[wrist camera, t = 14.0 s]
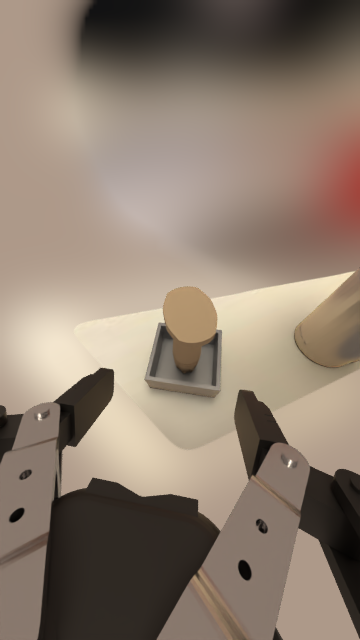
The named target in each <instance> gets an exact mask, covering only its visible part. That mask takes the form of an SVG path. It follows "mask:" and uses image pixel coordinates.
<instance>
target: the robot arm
mask: <svg viewBox="0 0 360 640" xmlns="http://www.w3.org/2000/svg"><path fill="white" fill-rule="evenodd" d="M295 340H296V343H297V345H298V347H299V349H300V350H301V351H302V352H303V354H305V355H306V356H307V357H308V358H309V359H311V360H312V361H314V362H316V363H318V364H320V365H323V366H326V367H340V366H343V365H346V364H348V363H350V362H356V361H359V360H360V268H359V269H358V270H357V271H356V272H355V273H353V274H352V275H351V276H350V277H349V278H348V279H347V280H346V281H345V282H344V283H343V284H342V285H341V286H340V287H338V288H337V289H336V290H335V291H334V292H333V293H332V294H331V295H330V296H329V297H328V298H327V299H326V300H325V301H324V302H322V303H321V304H320V305H319V306H318V307H317V308H316V309H315V310H314V311H313V312H312V313H311V314H310V315H309V316H307V317H306V318H305V319H304V320H303V321H302V322H301V323H300V324H299V325H298V326H297V328H296V330H295ZM113 390H114V371H113V370H112V369H106V368H100V369H99V370H98V371H96V373H94V374H90V375H88V376H86V377H84V378H82V379H81V380H80V381H78V382H77V384H75V385H74V386H72V388H70V389H69V390H68V391H66V392H65V393H64V394H63V395H61V396H60V397H59V398H58V399H56V400H55V401H54V402H50V403H49V402H48V403H42V404H39V405H37V406H34V407H32V408H31V409H29V410H28V411H26V412H25V414H17V415H7V414H6V408H5V407H4V406H1V405H0V640H283V639H282V638H281V636H280V634H279V632H278V630H277V629H276V622H277V618H278V613H279V609H280V605H281V600H282V596H283V592H284V587H285V583H286V579H287V574H288V570H289V566H290V561H291V557H292V552H293V547H294V544H295V539H296V535H297V531H298V528H299V529H301V530H303V531H305V532H306V533H308V534H310V535H312V536H313V537H315V538H317V539H318V540H319V542H320V544H321V547H322V549H323V552H324V554H325V556H326V559H327V561H328V564H329V566H330V568H331V571H332V573H333V576H334V578H335V580H336V583H337V585H338V588H339V590H340V592H341V595H342V597H343V599H344V602H345V605H346V607H347V609H348V612H349V614H350V617H351V619H352V621H353V624H354V626H355V629H356V631H357V633H358V636H359V638H360V475H358V474H356V473H354V472H352V471H349V470H346V469H339V470H337V471H336V472H335V475H334V477H333V476H331V475H328V474H326V473H324V472H322V471H319V470H317V469H315V468H313V467H311V466H309V463H308V462H307V460H306V459H305V458H304V456H303V455H302V454H301V453H300V452H299V451H298V450H296V449H295V448H293V447H291V446H289V444H288V442H287V441H286V439H285V437H284V435H283V433H282V431H281V429H280V428H279V426H278V424H277V423H276V420H275V418H274V417H273V415H272V413H271V411H270V409H269V408H268V407H267V406H266V405H265V404H264V403H263V402H260V401H258V400H257V398H256V396H255V394H254V392H253V391H246V390H239V393H238V398H237V403H236V408H235V415H234V419H235V425H236V429H237V433H238V438H239V441H240V446H241V450H242V454H243V458H244V462H245V466H246V470H247V474H248V479H249V482H248V483H247V485H246V487H245V489H244V491H243V492H242V494H241V496H240V498H239V500H238V502H237V503H236V505H235V507H234V509H233V511H232V512H231V514H230V516H229V518H228V519H227V521H226V523H225V525H224V527H223V529H222V530H221V531H220V530H219V529H218V528H217V527H216V526H215V525H214V524H213V523H212V522H211V521H210V520H209V519H208V518H206V517H205V516H204V515H203V514H201V513H199V512H198V500H196V499H191V498H187V497H182V496H177V495H172V494H168V495H159V496H148V497H141V496H139V495H137V494H135V493H134V492H132V491H130V490H128V489H127V488H125V487H124V486H122V485H120V484H119V483H116V482H111V481H106V480H102V479H97V478H92V480H91V482H90V483H89V485H88V487H87V488H84V489H79V490H76V491H73V492H70V493H67V494H65V495H63V496H61V481H62V455H63V454H62V450H63V449H64V448H65V447H66V445H68V446H73V447H76V446H77V444H78V443H79V442H80V440H81V439H82V438H83V436H84V435H85V434H86V432H87V431H88V430H89V428H90V427H91V426H92V425H93V423H94V422H95V421H96V419H97V418H98V417H99V415H100V414H101V412H102V411H103V410H104V409H105V407H106V406H107V405H108V403H109V402H110V400H111V398H112V396H113Z"/></svg>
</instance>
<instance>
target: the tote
mask: <svg viewBox="0 0 360 640" xmlns="http://www.w3.org/2000/svg"><path fill="white" fill-rule="evenodd" d="M221 341H222V330H216V333H215V336H214V338H213V339H212V340H211V341H210V342H209V343H208V344H206V345H204V346H202V348H201V355H200V359H199V361H198V364H197V365H196V367H195V368H194V370H193V371H192V372H187V373H185V374H184V373H182V371H181V370H180V369H179V368H177V367H176V364H175V361H174V357H173V338H172V337H171V335H170V334H169V333H168V331H167V328H166V324H165V323H159V324H158V328H157V332H156V336H155V340H154V344H153V348H152V352H151V356H150V360H149V364H148V368H147V372H146V376H145V381H146V382H147V384H148V385H149V387H150V388H156V389H163V390H169V391H175V392H182V393H188V394H194V395H201V396H207V397H215V396H216V395H217V394H218V393H219V392H220V377H221Z"/></svg>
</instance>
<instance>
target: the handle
mask: <svg viewBox="0 0 360 640" xmlns="http://www.w3.org/2000/svg"><path fill="white" fill-rule="evenodd" d="M163 315H164V320H165V324H166V328H167V331H168V333H169V334H170V335H171V337H172V338H173V357H174V361H175V364H176V367H177V368H179V369H180V370H181V371H182V373H184V374H185V373H187V372H192V371H193V370H194V368H195V367H196V365H197V364H198V361H199V359H200V355H201V348H202V346H204V345H206V344H208V343H209V342H210V341H211V340H212V339H213V338H214V336H215V333H216V327H217V313H216V310H215V308H214V306H213V303H212V301H211V300H210V298H208V296H207V295H206V294H204V293H203V292H202V291H201V290H200V289H199V288H196V287H180V288H176V289H174V290H172V291H170V292H169V293H168V294H167V296H166V299H165V302H164V305H163Z"/></svg>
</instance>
